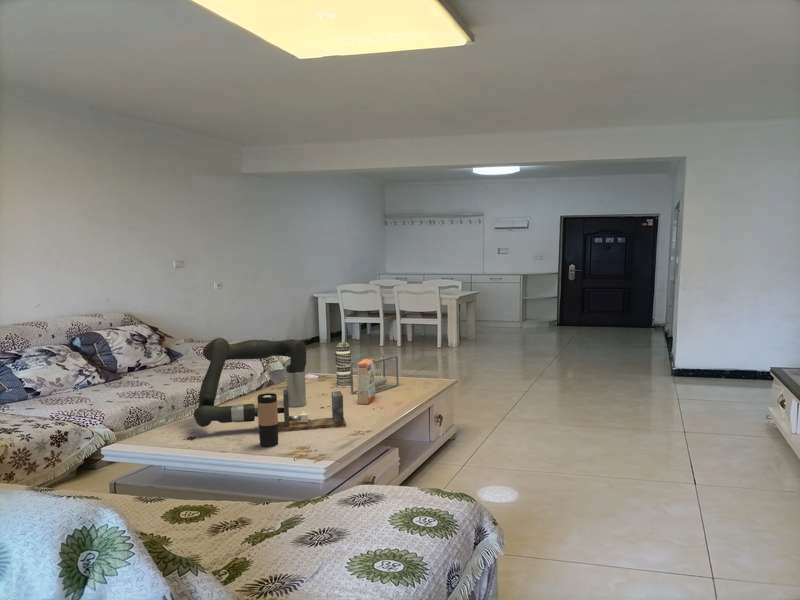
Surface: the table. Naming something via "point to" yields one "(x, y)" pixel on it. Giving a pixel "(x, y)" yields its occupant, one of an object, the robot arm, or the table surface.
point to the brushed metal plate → (286, 410)
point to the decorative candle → (343, 364)
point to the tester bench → (335, 421)
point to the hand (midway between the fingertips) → (283, 410)
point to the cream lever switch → (304, 417)
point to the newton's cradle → (380, 380)
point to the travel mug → (268, 419)
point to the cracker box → (366, 381)
